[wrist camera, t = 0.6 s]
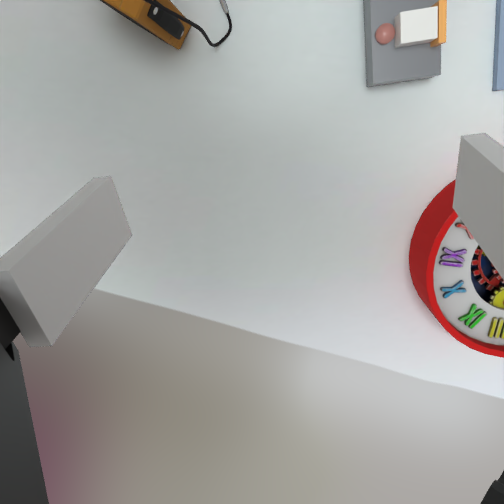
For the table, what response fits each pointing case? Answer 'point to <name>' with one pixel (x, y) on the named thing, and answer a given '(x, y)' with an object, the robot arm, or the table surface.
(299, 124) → the table surface
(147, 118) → the table surface
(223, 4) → the multimeter
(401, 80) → the breaker panel
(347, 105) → the table surface
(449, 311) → the toy clock
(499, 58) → the pad
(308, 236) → the table surface
